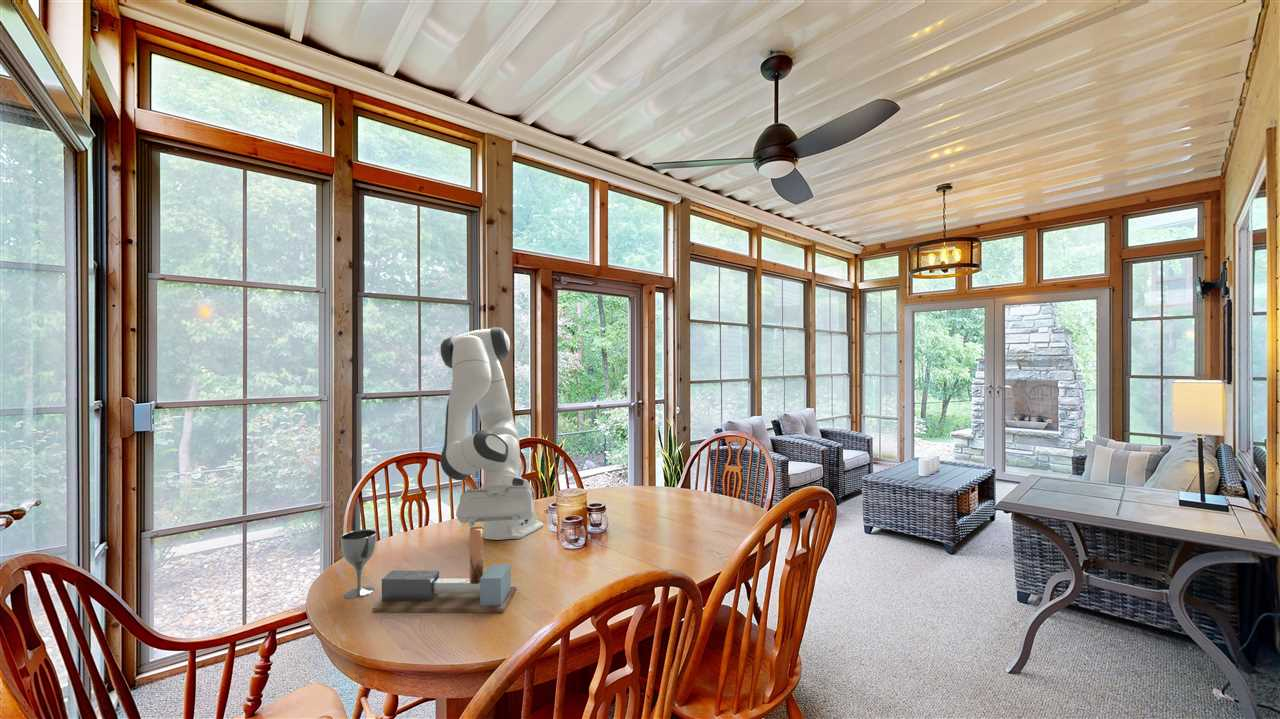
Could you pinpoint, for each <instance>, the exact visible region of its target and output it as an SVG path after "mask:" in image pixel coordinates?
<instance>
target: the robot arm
mask: <svg viewBox="0 0 1280 719" xmlns="http://www.w3.org/2000/svg"><path fill="white" fill-rule="evenodd" d="M510 349H511V341H510V337H509V335H508V333H506V331H505V329H503V327H499V326H498V327H497V326H496V327H493V326H492V327H491V328H483V329H476V330H471V331H469V332H465V333H461V334H459V335H455V336H450V337H447V338H445V339H443V340H442V342H441V343H440V350H439V352H440V357H441V359H442V361H443V363H444V365H445V366H446V367H448V368H450V369H452V379H451V380H452V381H451V388H450V389H451V390H450V393H449V396H448V399H447V403H446V404H447V405H446V410H445V428H444V429H445V430H444V444H443V447H442V451H441V454H440V460H439V461H440V467H441V469H442V471H443V473H445V475H446V476H447V477H449V478H451V479H453V480H456V481H464V480H466V479H467V478H469V477H470V476H471V475H473V474H474V473H476V472H478V471H480V470H484V481H483V484H482V485H483V486H482V488H475V489H471V488H470V489H466V491H465V490H464V492H462V493H461V494H460V497H459V503H458V505H457V508H456V512H455V515H456V519H457V520H458V521H459V522H460V524H465V523H466V524H468V526H469V529H470V528H472V527H475V526H476V524H477V523H482V524H481V527H483V539H485V540H486V539H487V540H493V541H495V540H496V541H497V540H498V541H499V540H501V541H502V540H510V539H515V540H516V539H517V540H518V539H522V538H524V537H526V536H528V535H529V534H531V533H533V532H536V531H537V530H539V529H541V528H542V527H544V523H543V522H542V521H540V520H538V519H537V513H536V511H535V503H534V499H533V496H532V495H533V491H532V486H531V484H530V482H529V480H527V479H525V478H521V477H519V467H520V460H521V449H520V434H519V432H518V429H517V428H516V424H515V420H514V416H513V415H514V414H513V410H512V405H511V400H510V395H509V391H508V386H507V383H506V382H507V381H506V379H505V374H504V371H503V367H502V365H501V363H502V362H503V361H504V359H505V358H506V357H507V356H508V354H509V353H510ZM475 406H476V407H477V411H478V415H479V416H478V417H479V420H480V424H481V427H482V429H480V430H478V431H476V432H474V433H473V434H470V435H468V436H467V432H468V418H469V415H470V413H471V412H472V410H473V409H474V407H475Z"/></svg>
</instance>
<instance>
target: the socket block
mask: <svg viewBox="0 0 1280 719" xmlns="http://www.w3.org/2000/svg"><path fill="white" fill-rule="evenodd" d="M511 570H512V568H511V563H491V564H490V565H489V566H488V568H486V570H485V571H484V572H483V575H482V577H481V578H480V605H501V604H502V603H503V601H504V599H505V598H506V596H507V594H508V593H509V591H510V589H511V587H512V585H511V581H512V580H511V579H512V578H511V575H512V574H511Z"/></svg>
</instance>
